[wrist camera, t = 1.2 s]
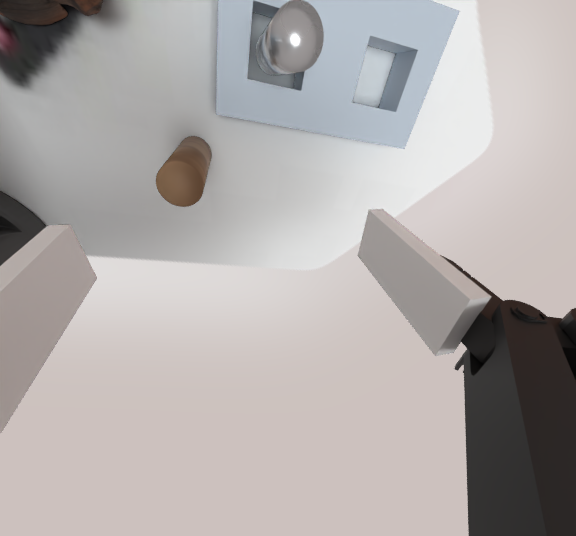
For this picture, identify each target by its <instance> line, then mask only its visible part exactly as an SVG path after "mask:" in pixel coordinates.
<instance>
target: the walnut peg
mask: <svg viewBox="0 0 576 536" xmlns="http://www.w3.org/2000/svg"><path fill="white" fill-rule="evenodd" d="M210 161H211V150H210V147H209V145H208V144H207V143H206V142H205V141H204V140H203V139H201V138H199V137H196V136H190V137H187V138H185V139H184V140H183V141H182V142H181V143H180V145H179V146H178V147H177V149H176V150H175V151H174V152H173V154H172V155H171V156H170V157H169V159H168V160H167V161H166V162H165V164H164V165H163V166H162V167H161V169H160V170H159V171H158V173H157V176H156V186H157V189H158V191H159V193H160V194H161V196H162V197H163V198H164V199H165V200H166V201H168V202H169V203H171V204H173V205H176V206H181V207H186V206H191V205H193V204H195V203H196V202H198V201H199V199H200V198H201V196H202V194H203V189H204V185H205V181H206V177H207V173H208V169H209V165H210Z"/></svg>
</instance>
